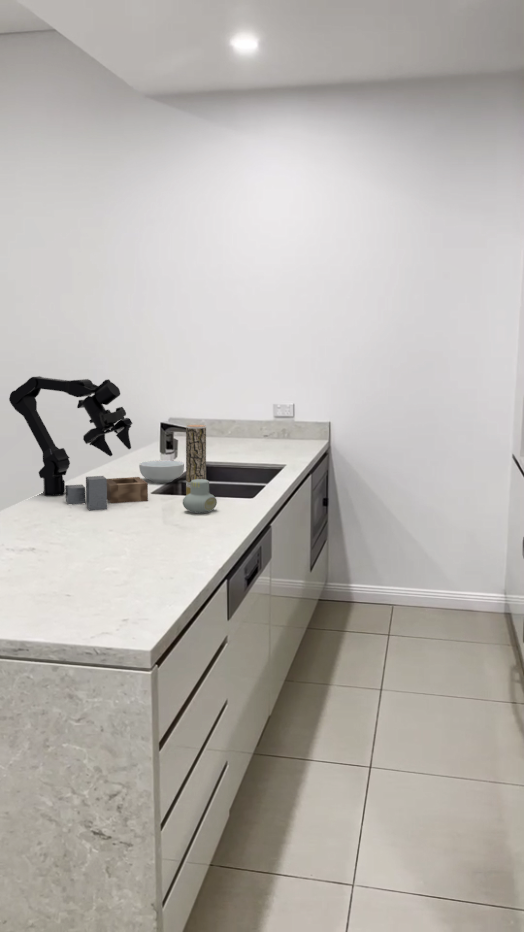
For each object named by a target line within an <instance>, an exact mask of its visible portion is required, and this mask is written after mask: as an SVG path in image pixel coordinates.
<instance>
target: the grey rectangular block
mask: <svg viewBox="0 0 524 932" xmlns="http://www.w3.org/2000/svg"><path fill="white" fill-rule="evenodd" d="M107 479H108V478H106V477H105V476H104V475H95V476H85V504H86V508H87V510H88V511H91V512H92V511H103V510H104V511H106V510H108V500H107Z"/></svg>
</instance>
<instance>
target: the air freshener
mask: <svg viewBox="0 0 524 932" xmlns="http://www.w3.org/2000/svg"><path fill="white" fill-rule="evenodd" d="M217 504H218V500H217V498H216V497H215V496H214V495H213V494H211V493H210V481H209V480H208V479H206V480H205V479H195V480H192V481H191V491H190V494H188V495H185V496H184V497H183V499H182V505H183V507H184V509H185V510H187V511H188V512H190V513H195V514H208V513H210V512H211V511H212V510H214V509H215V508H216V506H217Z"/></svg>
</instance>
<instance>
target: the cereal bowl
mask: <svg viewBox="0 0 524 932" xmlns="http://www.w3.org/2000/svg"><path fill="white" fill-rule="evenodd" d="M138 467H139V472H140V475H141V476H142V477H143V478H144V479H147V480H149V481H151V482H152V483H155V482H157V483H156V484H165V483H172V482H173V481H174V480H176V479H178V478H180V477H181V476H182V475H183V474H184V471H185V462H183V461H180V460H171V459H170V460H169V459H167V460H166V459H162V460H160V459H159V460H156V459H155V460H147V461H142V462H140V463H139V464H138Z"/></svg>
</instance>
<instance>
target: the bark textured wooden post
mask: <svg viewBox="0 0 524 932" xmlns="http://www.w3.org/2000/svg"><path fill="white" fill-rule="evenodd" d="M185 470H186V471H185V484H186V485H185V490H186V491H185V494H186V495H188V494H190V491H191V481H192V480H195V479H205V480H207V425H205V424H186V426H185ZM186 495H185V496H186Z"/></svg>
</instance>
